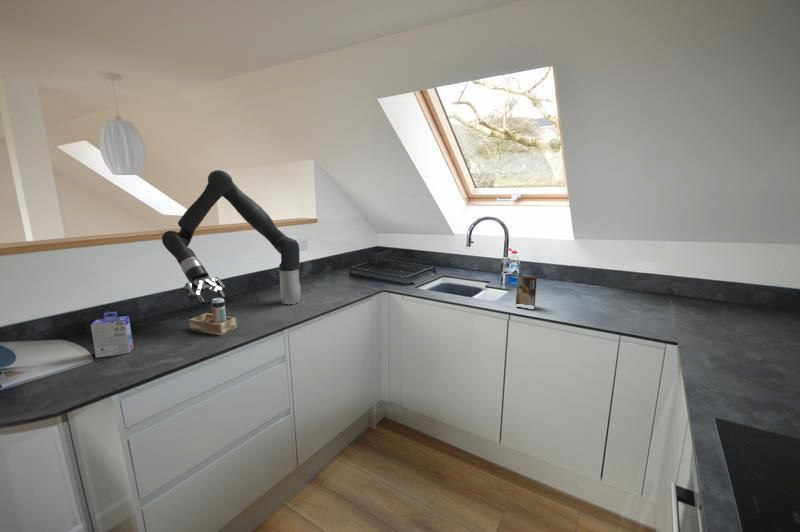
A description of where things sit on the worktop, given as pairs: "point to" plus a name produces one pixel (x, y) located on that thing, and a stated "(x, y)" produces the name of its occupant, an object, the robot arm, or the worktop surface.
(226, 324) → the can rack
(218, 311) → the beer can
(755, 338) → the worktop surface
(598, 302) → the worktop surface
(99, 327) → the ink cartridge box
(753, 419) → the worktop surface
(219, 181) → the robot arm
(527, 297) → the coffee box
